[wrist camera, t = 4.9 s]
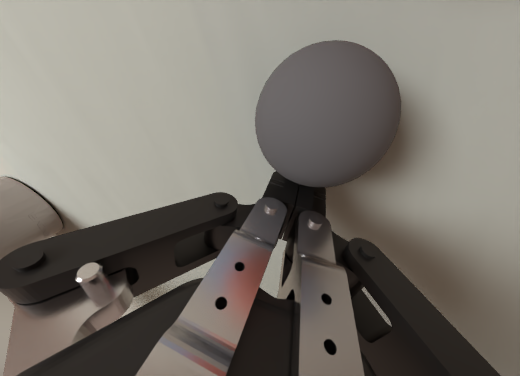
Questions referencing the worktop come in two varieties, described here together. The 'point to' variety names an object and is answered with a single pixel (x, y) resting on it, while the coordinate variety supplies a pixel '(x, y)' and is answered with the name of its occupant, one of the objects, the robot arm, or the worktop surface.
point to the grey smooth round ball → (328, 113)
